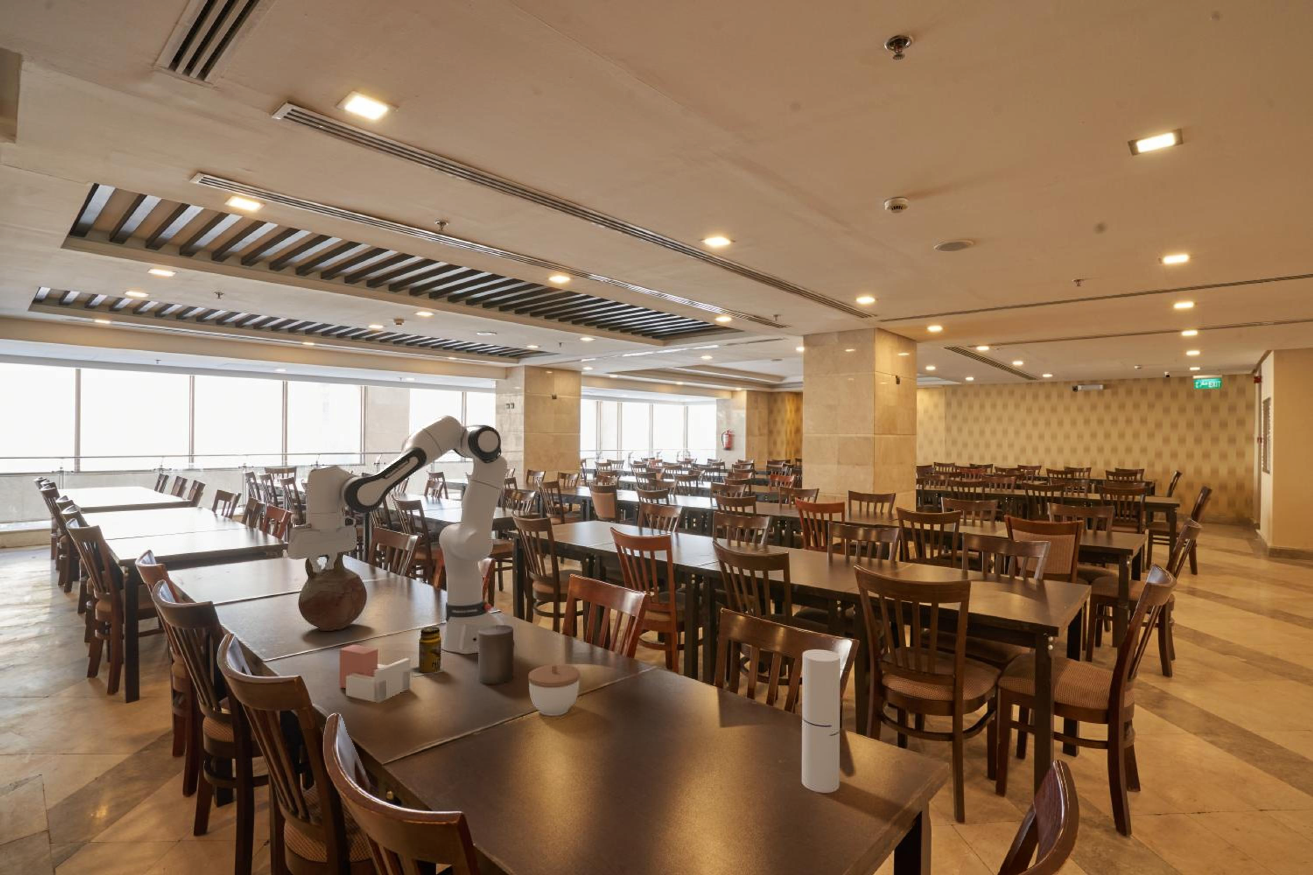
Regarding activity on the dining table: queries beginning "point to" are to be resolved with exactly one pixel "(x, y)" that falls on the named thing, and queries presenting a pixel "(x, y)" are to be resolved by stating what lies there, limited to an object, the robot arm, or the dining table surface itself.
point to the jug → (332, 596)
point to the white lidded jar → (554, 688)
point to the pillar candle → (495, 654)
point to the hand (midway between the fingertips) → (323, 570)
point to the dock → (380, 682)
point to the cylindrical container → (820, 720)
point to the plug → (357, 662)
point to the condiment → (429, 652)
